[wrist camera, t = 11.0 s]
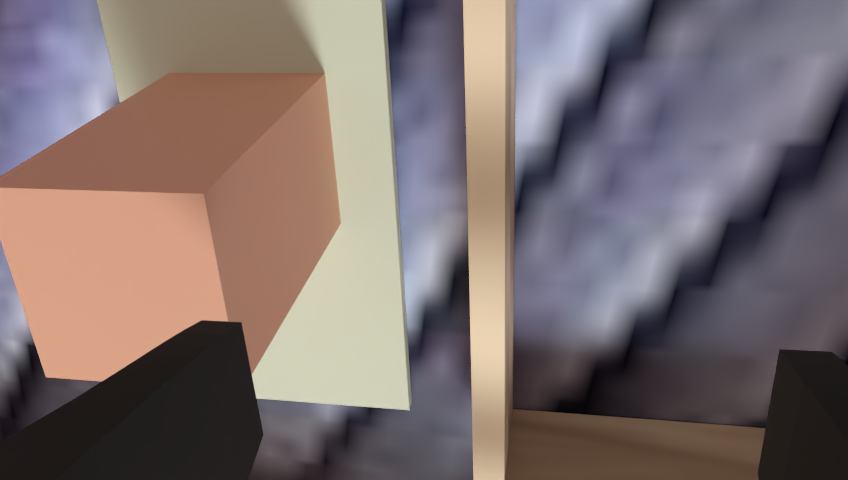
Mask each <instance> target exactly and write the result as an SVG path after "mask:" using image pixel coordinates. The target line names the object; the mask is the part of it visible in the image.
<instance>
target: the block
mask: <svg viewBox="0 0 848 480" xmlns="http://www.w3.org/2000/svg"><path fill="white" fill-rule="evenodd" d="M340 224H341V219H340V210H339V200H338V191H337V181H336V172H335V162H334V153H333V143H332V134H331V124H330V115H329V105H328V96H327V86H326V77H325V73H168V74H166V75H165V76H163V77H162V78H160V79H158V80H157V81H155V82H153V83H152V84H150V85H149V86H147V87H145V88H144V89H142V90H140V91H139V92H137V93H136V94H134V95H132V96H131V97H129V98H127V99H126V100H124V101H123V102H121V103H119V104H118V105H116V106H114V107H113V108H111V109H110V110H108V111H106V112H105V113H103V114H101V115H100V116H98V117H96V118H95V119H93V120H92V121H90V122H88V123H87V124H85V125H83V126H82V127H80V128H79V129H77V130H75V131H74V132H72V133H70V134H69V135H67V136H66V137H64V138H62V139H61V140H59V141H57V142H56V143H54V144H53V145H51V146H49V147H48V148H46V149H44V150H43V151H41V152H40V153H38V154H36V155H35V156H33V157H31V158H30V159H28V160H26V161H25V162H23V163H22V164H20V165H18V166H17V167H15V168H13V169H12V170H10V171H9V172H7V173H5V174H4V175H2V176H0V240H1V243H2V246H3V249H4V252H5V255H6V258H7V261H8V264H9V267H10V270H11V273H12V276H13V279H14V282H15V285H16V288H17V291H18V294H19V297H20V300H21V303H22V306H23V309H24V312H25V315H26V318H27V321H28V324H29V327H30V330H31V334H32V337H33V340H34V343H35V346H36V349H37V352H38V355H39V358H40V361H41V364H42V367H43V370H44V373H45V376H46V377H50V378H64V379H77V380H90V381H104V380H105V379H107V378H108V377H110V376H112V375H113V374H115V373H116V372H118V371H119V370H121V369H123V368H124V367H126V366H127V365H129V364H130V363H132V362H134V361H135V360H137V359H138V358H140V357H141V356H143V355H144V354H146V353H148V352H149V351H151V350H152V349H154V348H155V347H157V346H159V345H160V344H162V343H163V342H165V341H167V340H168V339H170V338H171V337H173V336H175V335H176V334H178V333H180V332H181V331H183V330H185V329H187V328H188V327H190V326H192V325H194V324H196V323H198V322H200V321H201V320H207V321H227V322H242V327H243V333H244V338H245V343H246V348H247V353H248V358H249V364H250V369H251V374H253V372H254V370H255V368H256V367H257V365H258V363H259V362H260V360H261V358H262V357H263V355H264V353H265V352H266V350H267V348H268V346H269V345H270V343H271V341H272V340H273V338H274V336H275V335H276V333H277V331H278V329H279V328H280V326H281V324H282V323H283V321H284V319H285V318H286V316H287V314H288V313H289V311H290V309H291V307H292V306H293V304H294V302H295V301H296V299H297V297H298V296H299V294H300V292H301V290H302V289H303V287H304V285H305V284H306V282H307V280H308V279H309V277H310V275H311V274H312V272H313V270H314V268H315V267H316V265H317V263H318V262H319V260H320V258H321V257H322V255H323V253H324V251H325V250H326V248H327V246H328V245H329V243H330V241H331V240H332V238H333V236H334V235H335V233H336V231H337V229H338V228H339V226H340Z"/></svg>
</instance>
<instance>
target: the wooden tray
mask: <svg viewBox="0 0 848 480" xmlns="http://www.w3.org/2000/svg"><path fill="white" fill-rule="evenodd" d="M463 19H464V65H465V110H466V156H467V202H468V248H469V293H470V339H471V385H472V431H473V476H474V480H759V478H758V468H759V462H760V457H761V451H762V446H763V440H764V434H765V429H766V428H757V427H744V426H731V425H718V424H705V423H691V422H678V421H665V420H652V419H638V418H625V417H612V416H599V415H585V414H572V413H559V412H546V411H532V410H519V409H513V319H514V200H515V81H516V0H463Z"/></svg>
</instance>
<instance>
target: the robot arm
mask: <svg viewBox="0 0 848 480" xmlns="http://www.w3.org/2000/svg"><path fill="white" fill-rule="evenodd" d="M262 437H263V431H262V425H261V420H260V415H259V410H258V405H257V400H256V394H255V389H254V384H253V379H252V374H251V369H250V364H249V358H248V353H247V348H246V343H245V338H244V333H243V327H242V322H227V321H207V320H201V321H200V322H198V323H196V324H194V325H192V326H190V327H188V328H187V329H185V330H183V331H181V332H180V333H178V334H176V335H175V336H173V337H171V338H170V339H168V340H167V341H165V342H163V343H162V344H160V345H159V346H157V347H155V348H154V349H152V350H151V351H149V352H148V353H146V354H144V355H143V356H141V357H140V358H138V359H137V360H135V361H134V362H132V363H130V364H129V365H127V366H126V367H124V368H123V369H121V370H119V371H118V372H116V373H115V374H113V375H112V376H110V377H108V378H107V379H105V380H104V381H102V382H100V383H99V384H97V385H96V386H94V387H93V388H91V389H89V390H88V391H86V392H85V393H83V394H82V395H80V396H78V397H77V398H75V399H73V400H72V401H70V402H68V403H67V404H65V405H63V406H61V407H60V408H58V409H56V410H55V411H53V412H51V413H49V414H48V415H46V416H44V417H43V418H41V419H39V420H38V421H36V422H34V423H32V424H31V425H29V426H27V427H26V428H24V429H22V430H20V431H19V432H17V433H15V434H14V435H12V436H10V437H8V438H7V439H5V440H3V441H1V442H0V480H248V477H249V475H250V472H251V469H252V466H253V463H254V460H255V457H256V455H257V452H258V449H259V446H260V443H261V440H262ZM758 478H759V480H848V366H847V365H846V364H845V363H844V362H843V361H842V360H841V359H839V358H838V357H837V356H836V355H835V354H834V353H832V352H820V351H800V350H779V356H778V361H777V367H776V373H775V378H774V384H773V389H772V395H771V401H770V406H769V412H768V417H767V423H766V429H765V434H764V440H763V446H762V451H761V457H760V462H759V468H758Z"/></svg>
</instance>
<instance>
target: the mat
mask: <svg viewBox="0 0 848 480" xmlns="http://www.w3.org/2000/svg"><path fill="white" fill-rule="evenodd" d="M97 5H98V9H99V13H100V18H101V22H102V26H103V31H104V35H105V39H106V44H107V48H108V52H109V57H110V61H111V65H112V70H113V74H114V78H115V83H116V87H117V91H118V96H119V100H120V103H121V102H123V101H124V100H126V99H127V98H129V97H131V96H132V95H134V94H136V93H137V92H139V91H140V90H142V89H144V88H145V87H147V86H149V85H150V84H152V83H153V82H155V81H157V80H158V79H160V78H162V77H163V76H165V75H166V74H168V73H325V77H326V86H327V96H328V105H329V115H330V124H331V134H332V143H333V153H334V162H335V172H336V181H337V191H338V200H339V210H340V219H341V224H340V226H339V228H338V229H337V231H336V233H335V235H334V236H333V238H332V240H331V241H330V243H329V245H328V246H327V248H326V250H325V251H324V253H323V255H322V257H321V258H320V260H319V262H318V263H317V265H316V267H315V268H314V270H313V272H312V274H311V275H310V277H309V279H308V280H307V282H306V284H305V285H304V287H303V289H302V290H301V292H300V294H299V296H298V297H297V299H296V301H295V302H294V304H293V306H292V307H291V309H290V311H289V313H288V314H287V316H286V318H285V319H284V321H283V323H282V324H281V326H280V328H279V329H278V331H277V333H276V335H275V336H274V338H273V340H272V341H271V343H270V345H269V346H268V348H267V350H266V352H265V353H264V355H263V357H262V358H261V360H260V362H259V363H258V365H257V367H256V368H255V370H254V372H253V374H252V379H253V384H254V389H255V394H256V398H259V399H272V400H285V401H298V402H311V403H324V404H337V405H350V406H363V407H375V408H388V409H401V410H409V409H410V406H411V402H412V397H411V382H410V367H409V351H408V336H407V321H406V306H405V291H404V276H403V261H402V246H401V231H400V216H399V201H398V185H397V170H396V155H395V140H394V125H393V110H392V95H391V80H390V65H389V50H388V34H387V19H386V4H385V0H97Z"/></svg>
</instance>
